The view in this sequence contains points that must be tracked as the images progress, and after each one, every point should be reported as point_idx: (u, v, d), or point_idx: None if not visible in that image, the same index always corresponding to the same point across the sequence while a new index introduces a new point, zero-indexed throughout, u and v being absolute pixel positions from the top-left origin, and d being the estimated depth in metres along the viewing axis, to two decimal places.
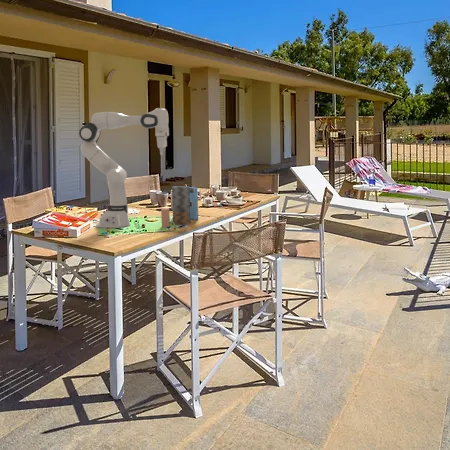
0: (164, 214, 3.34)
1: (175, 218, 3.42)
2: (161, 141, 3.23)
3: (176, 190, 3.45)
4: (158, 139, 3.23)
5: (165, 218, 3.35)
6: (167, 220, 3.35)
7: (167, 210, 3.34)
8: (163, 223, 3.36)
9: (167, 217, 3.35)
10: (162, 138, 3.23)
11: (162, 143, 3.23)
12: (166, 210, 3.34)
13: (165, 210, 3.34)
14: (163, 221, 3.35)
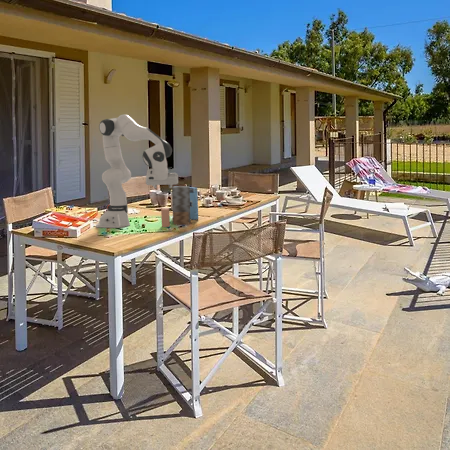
0: (164, 214, 3.34)
1: (175, 218, 3.42)
2: None
3: (176, 190, 3.45)
4: (146, 175, 3.13)
5: (165, 218, 3.35)
6: (167, 220, 3.35)
7: (167, 210, 3.34)
8: (163, 223, 3.36)
9: (167, 217, 3.35)
10: (146, 178, 3.11)
11: None
12: (166, 210, 3.34)
13: (165, 210, 3.34)
14: (163, 221, 3.35)
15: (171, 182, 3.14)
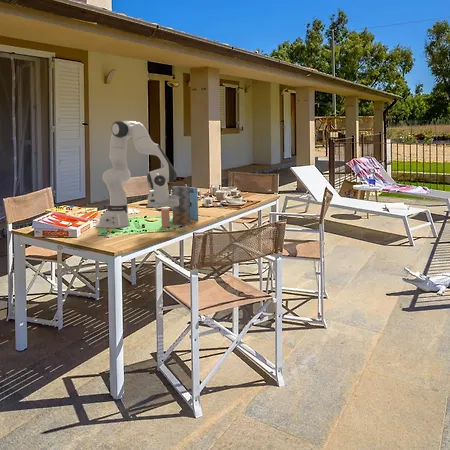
0: (164, 214, 3.34)
1: (175, 218, 3.42)
2: (147, 201, 3.20)
3: (176, 190, 3.45)
4: None
5: (165, 218, 3.35)
6: (167, 220, 3.35)
7: (167, 210, 3.34)
8: (163, 223, 3.36)
9: (167, 217, 3.35)
10: (148, 200, 3.18)
11: (147, 203, 3.21)
12: (166, 210, 3.34)
13: (165, 210, 3.34)
14: (163, 221, 3.35)
15: (172, 204, 3.21)
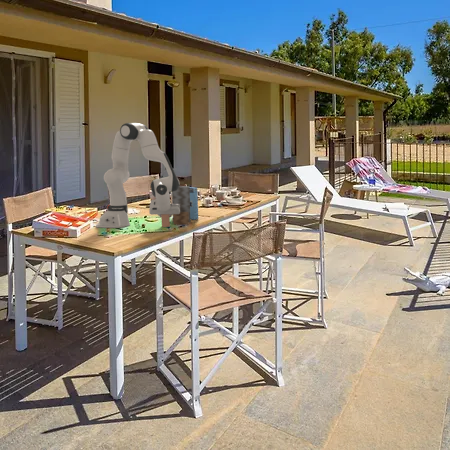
0: (164, 214, 3.34)
1: (175, 218, 3.42)
2: (149, 209, 3.29)
3: None
4: None
5: (165, 218, 3.35)
6: (167, 220, 3.35)
7: None
8: (163, 223, 3.36)
9: (167, 217, 3.35)
10: (150, 208, 3.27)
11: (149, 211, 3.30)
12: None
13: None
14: (163, 221, 3.35)
15: (173, 212, 3.31)
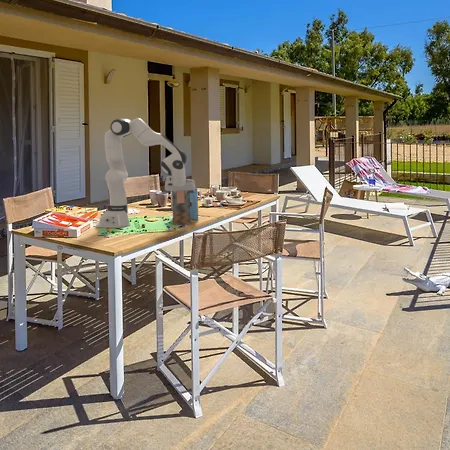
0: None
1: (175, 218, 3.42)
2: (165, 185, 3.35)
3: None
4: (165, 182, 3.35)
5: (180, 194, 3.40)
6: (182, 196, 3.41)
7: None
8: (178, 199, 3.41)
9: (182, 193, 3.40)
10: (165, 184, 3.33)
11: None
12: None
13: None
14: (178, 197, 3.41)
15: (188, 188, 3.36)
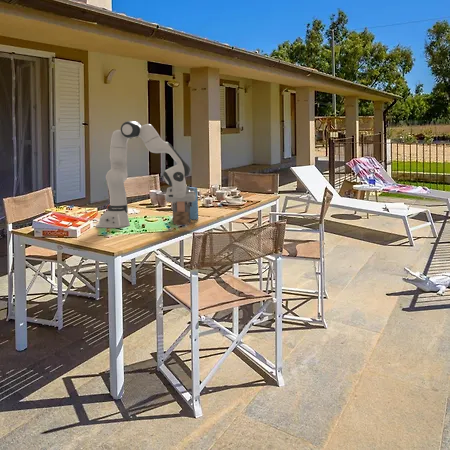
0: (179, 202, 3.43)
1: (175, 218, 3.42)
2: None
3: None
4: (166, 193, 3.38)
5: (181, 207, 3.44)
6: (182, 209, 3.44)
7: None
8: (179, 211, 3.44)
9: (182, 206, 3.44)
10: (166, 195, 3.36)
11: None
12: None
13: None
14: (179, 210, 3.44)
15: (189, 199, 3.39)
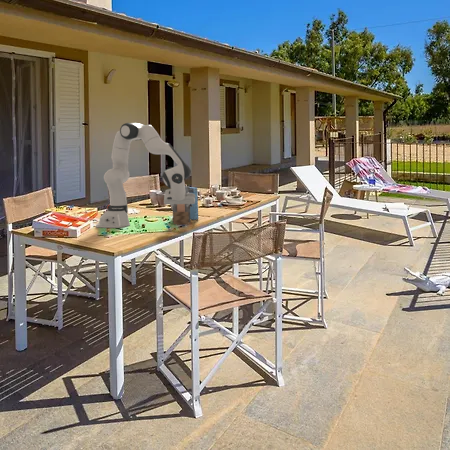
0: None
1: (175, 218, 3.42)
2: (164, 199, 3.25)
3: None
4: (164, 195, 3.25)
5: (181, 207, 3.44)
6: (182, 209, 3.44)
7: None
8: (179, 211, 3.44)
9: (182, 206, 3.44)
10: (164, 198, 3.23)
11: (164, 201, 3.26)
12: None
13: None
14: (179, 210, 3.44)
15: (188, 202, 3.27)
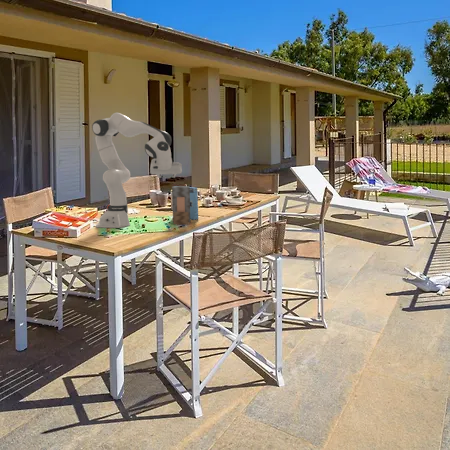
0: (179, 202, 3.43)
1: (175, 218, 3.42)
2: (150, 168, 3.20)
3: (176, 190, 3.45)
4: None
5: (181, 207, 3.44)
6: (182, 209, 3.44)
7: (182, 199, 3.43)
8: (179, 211, 3.44)
9: (182, 206, 3.44)
10: (150, 167, 3.18)
11: (150, 171, 3.21)
12: (182, 199, 3.43)
13: (181, 199, 3.43)
14: (179, 210, 3.44)
15: (175, 172, 3.22)
